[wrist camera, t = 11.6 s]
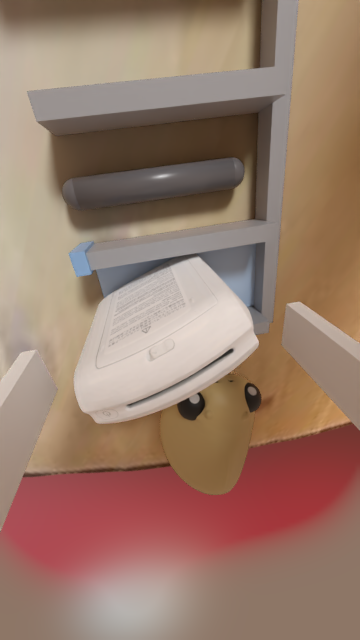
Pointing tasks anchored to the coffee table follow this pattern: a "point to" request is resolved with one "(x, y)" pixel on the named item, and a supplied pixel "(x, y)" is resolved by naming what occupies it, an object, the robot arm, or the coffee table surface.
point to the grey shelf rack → (189, 166)
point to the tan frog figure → (211, 434)
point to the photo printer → (161, 341)
